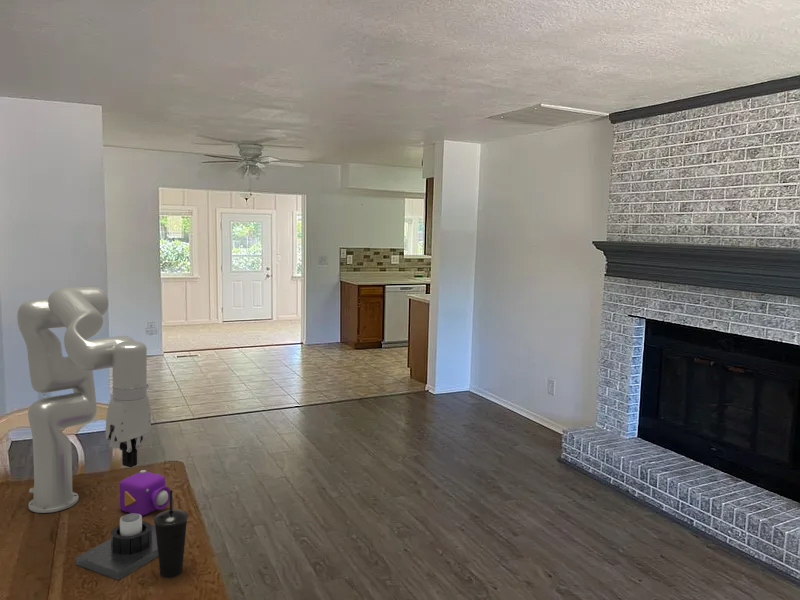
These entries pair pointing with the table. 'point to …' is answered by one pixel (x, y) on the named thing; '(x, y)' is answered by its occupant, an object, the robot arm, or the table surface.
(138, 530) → the white cylinder
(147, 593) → the table surface
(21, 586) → the table surface
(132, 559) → the lens mount
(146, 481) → the toy camera
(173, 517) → the drinking cup
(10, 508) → the table surface
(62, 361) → the robot arm
